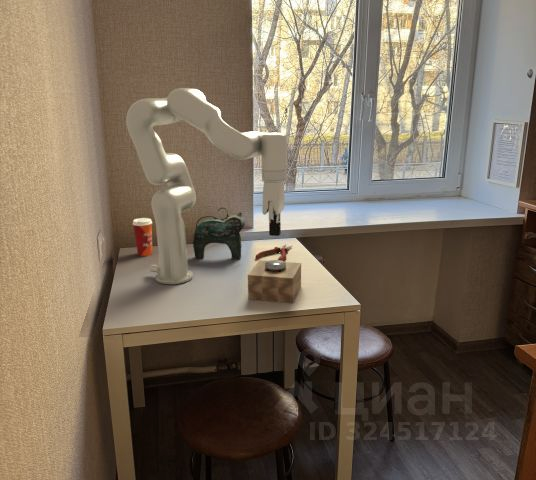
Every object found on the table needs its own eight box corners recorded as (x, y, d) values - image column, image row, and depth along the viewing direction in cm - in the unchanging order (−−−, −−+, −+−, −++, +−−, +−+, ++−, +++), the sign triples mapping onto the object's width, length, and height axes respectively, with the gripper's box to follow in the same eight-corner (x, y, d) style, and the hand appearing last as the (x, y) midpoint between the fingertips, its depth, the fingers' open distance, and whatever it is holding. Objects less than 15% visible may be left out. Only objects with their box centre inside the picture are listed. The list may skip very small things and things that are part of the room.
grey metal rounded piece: (263, 291, 154) (262, 266, 152) (268, 284, 161) (267, 259, 158) (283, 293, 153) (283, 267, 150) (287, 285, 159) (287, 260, 157)
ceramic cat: (246, 256, 192) (244, 206, 187) (243, 261, 186) (242, 209, 180) (196, 255, 194) (193, 205, 189) (192, 260, 188) (189, 209, 182)
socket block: (248, 299, 152) (247, 274, 149) (259, 282, 165) (259, 260, 162) (292, 303, 148) (292, 278, 146) (301, 286, 161) (301, 263, 159)
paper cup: (150, 257, 192) (147, 222, 188) (132, 256, 193) (128, 222, 189) (157, 251, 200) (155, 217, 196) (140, 250, 201) (137, 217, 197)
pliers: (301, 249, 200) (301, 243, 200) (281, 265, 183) (281, 258, 182) (276, 246, 205) (276, 240, 205) (254, 261, 188) (253, 254, 187)
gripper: (268, 171, 154) (268, 228, 159) (255, 179, 140) (256, 241, 145) (291, 172, 152) (291, 229, 157) (281, 180, 138) (281, 242, 143)
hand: (274, 234), depth 151 cm, fingers closed
